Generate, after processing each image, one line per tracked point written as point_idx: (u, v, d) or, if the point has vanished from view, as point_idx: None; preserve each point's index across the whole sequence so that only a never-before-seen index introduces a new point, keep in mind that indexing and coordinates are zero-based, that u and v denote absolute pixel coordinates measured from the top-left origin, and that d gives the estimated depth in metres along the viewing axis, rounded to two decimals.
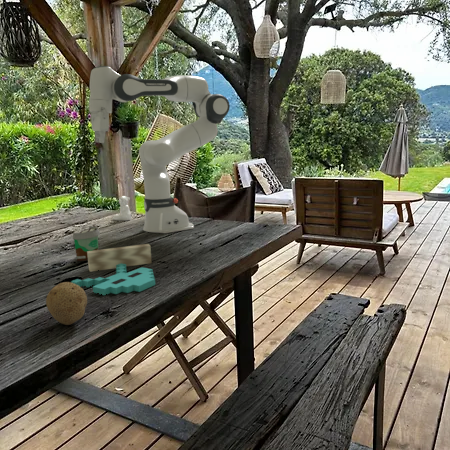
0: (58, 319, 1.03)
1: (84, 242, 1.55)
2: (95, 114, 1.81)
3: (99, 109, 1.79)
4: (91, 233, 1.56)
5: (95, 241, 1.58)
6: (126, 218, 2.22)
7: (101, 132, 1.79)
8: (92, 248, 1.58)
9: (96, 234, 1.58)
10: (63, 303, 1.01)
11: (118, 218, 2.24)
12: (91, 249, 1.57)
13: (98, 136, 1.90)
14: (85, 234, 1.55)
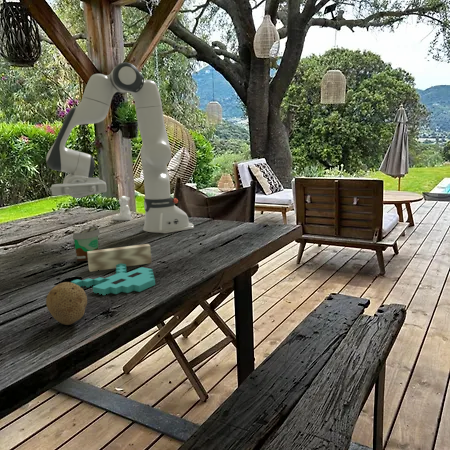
0: (58, 319, 1.03)
1: (84, 242, 1.55)
2: (72, 193, 1.77)
3: None
4: (91, 233, 1.56)
5: (95, 241, 1.58)
6: (126, 218, 2.22)
7: (64, 191, 1.69)
8: (92, 248, 1.58)
9: (96, 234, 1.58)
10: (63, 303, 1.01)
11: (118, 218, 2.24)
12: (91, 249, 1.57)
13: None
14: (85, 234, 1.55)
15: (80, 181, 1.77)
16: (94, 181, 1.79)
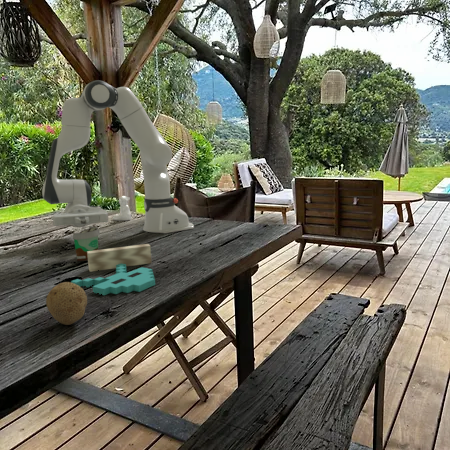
0: (58, 319, 1.03)
1: (84, 242, 1.55)
2: None
3: None
4: (91, 233, 1.56)
5: (95, 241, 1.58)
6: (126, 218, 2.22)
7: (75, 221, 1.71)
8: (92, 248, 1.58)
9: (96, 234, 1.58)
10: (63, 303, 1.01)
11: (118, 218, 2.24)
12: (91, 249, 1.57)
13: None
14: (85, 234, 1.55)
15: (82, 211, 1.77)
16: (96, 211, 1.80)
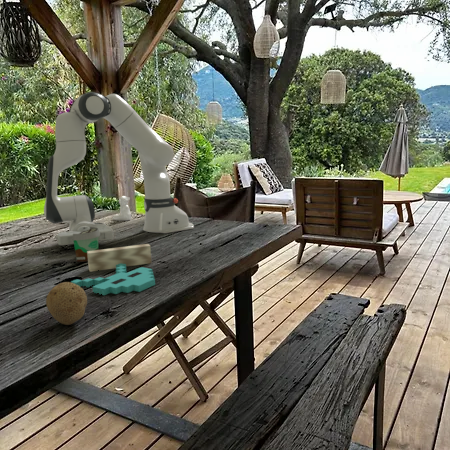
0: (58, 319, 1.03)
1: (84, 243, 1.54)
2: None
3: None
4: (91, 234, 1.55)
5: (95, 242, 1.57)
6: (126, 218, 2.22)
7: None
8: (92, 249, 1.56)
9: (96, 235, 1.56)
10: (63, 303, 1.01)
11: (118, 218, 2.24)
12: (91, 250, 1.56)
13: None
14: (85, 235, 1.53)
15: (87, 228, 1.73)
16: (101, 227, 1.75)
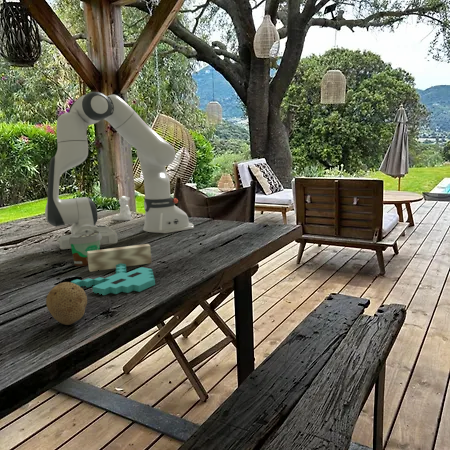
0: (58, 319, 1.03)
1: (80, 247, 1.49)
2: None
3: None
4: (88, 238, 1.49)
5: (93, 247, 1.51)
6: (126, 218, 2.22)
7: None
8: None
9: (94, 239, 1.50)
10: (63, 303, 1.01)
11: (118, 218, 2.24)
12: None
13: None
14: (81, 239, 1.48)
15: (89, 231, 1.67)
16: (104, 231, 1.70)
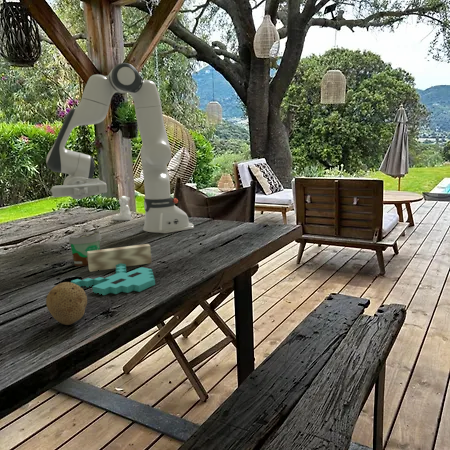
0: (58, 319, 1.03)
1: (80, 248, 1.49)
2: None
3: None
4: (88, 238, 1.49)
5: (93, 247, 1.51)
6: (126, 218, 2.22)
7: (73, 192, 1.71)
8: None
9: (94, 239, 1.50)
10: (63, 303, 1.01)
11: (118, 218, 2.24)
12: None
13: None
14: (81, 239, 1.48)
15: (80, 182, 1.77)
16: (94, 182, 1.79)
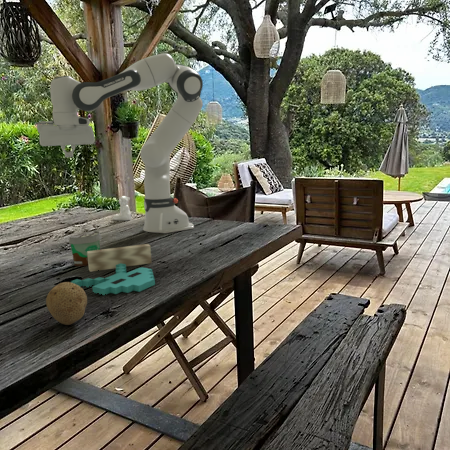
0: (58, 319, 1.03)
1: (80, 248, 1.49)
2: None
3: None
4: (88, 238, 1.49)
5: (93, 247, 1.51)
6: (126, 218, 2.22)
7: (61, 146, 1.75)
8: None
9: (94, 239, 1.50)
10: (63, 303, 1.01)
11: (118, 218, 2.24)
12: None
13: (71, 150, 1.77)
14: (81, 239, 1.48)
15: (70, 129, 1.73)
16: (84, 128, 1.75)
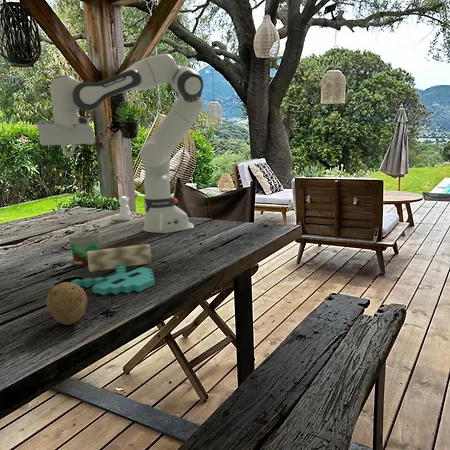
0: (58, 319, 1.03)
1: (80, 248, 1.49)
2: None
3: None
4: (88, 238, 1.49)
5: (93, 247, 1.51)
6: (126, 218, 2.22)
7: (61, 145, 1.75)
8: None
9: (94, 239, 1.50)
10: (63, 303, 1.01)
11: (118, 218, 2.24)
12: None
13: (71, 150, 1.77)
14: (81, 239, 1.48)
15: (70, 128, 1.73)
16: (84, 128, 1.75)
